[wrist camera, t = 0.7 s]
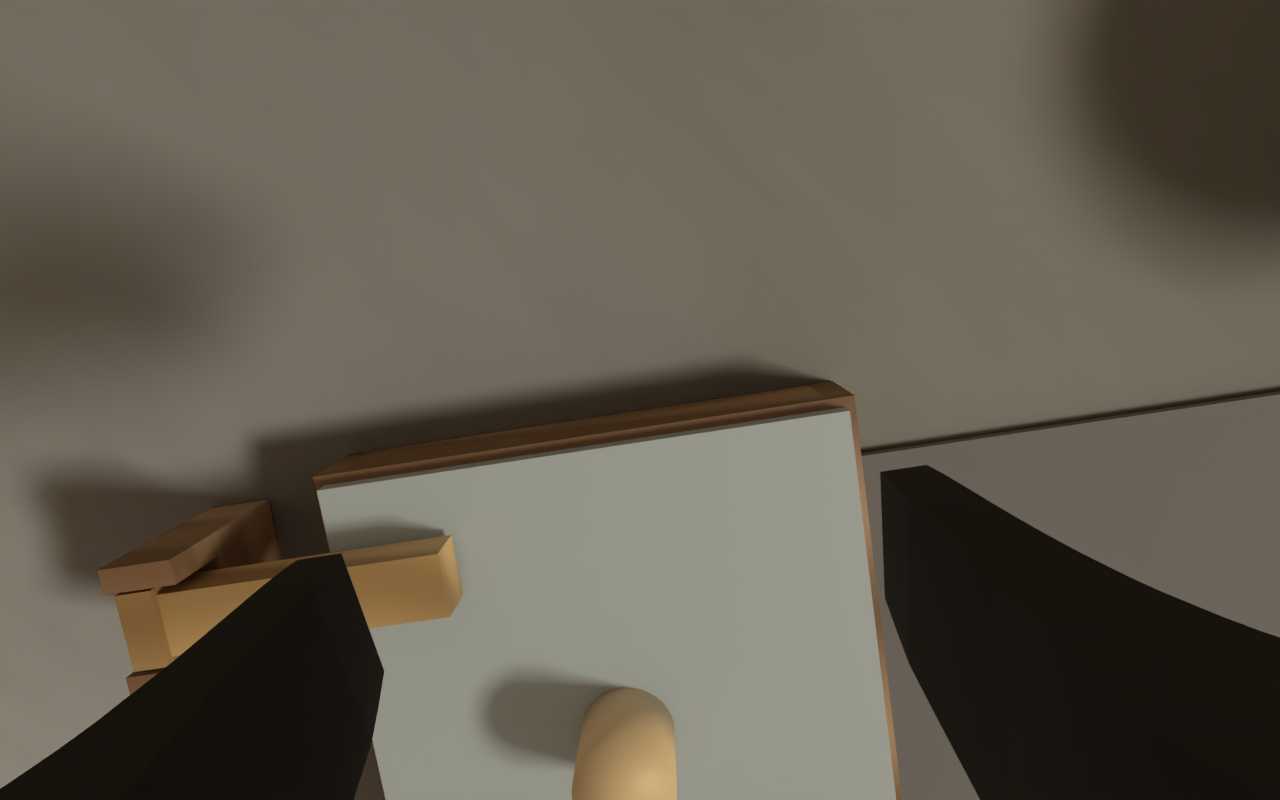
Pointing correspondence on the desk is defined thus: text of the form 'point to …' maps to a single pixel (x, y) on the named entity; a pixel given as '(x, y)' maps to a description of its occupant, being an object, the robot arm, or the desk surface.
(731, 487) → the lid
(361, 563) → the tan block
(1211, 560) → the mat
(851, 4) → the desk surface
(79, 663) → the desk surface
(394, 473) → the wooden tray
